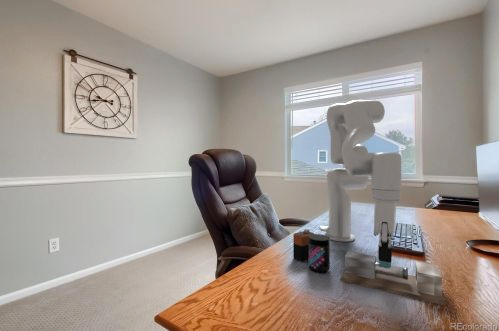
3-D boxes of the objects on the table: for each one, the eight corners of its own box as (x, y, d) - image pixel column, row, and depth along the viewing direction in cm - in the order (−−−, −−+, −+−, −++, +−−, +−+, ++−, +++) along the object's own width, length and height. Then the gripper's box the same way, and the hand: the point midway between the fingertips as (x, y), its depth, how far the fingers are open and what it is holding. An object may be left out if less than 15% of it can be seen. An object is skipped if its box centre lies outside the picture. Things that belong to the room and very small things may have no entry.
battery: (314, 258, 87) (314, 230, 87) (302, 263, 83) (302, 233, 83) (305, 254, 91) (305, 227, 91) (292, 259, 87) (292, 231, 87)
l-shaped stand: (347, 268, 74) (347, 236, 74) (348, 265, 77) (349, 233, 77) (407, 281, 66) (408, 245, 66) (407, 277, 69) (407, 241, 69)
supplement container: (304, 265, 81) (304, 234, 81) (323, 264, 82) (323, 233, 82) (313, 275, 74) (313, 241, 74) (333, 273, 76) (334, 239, 75)
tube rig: (340, 280, 71) (340, 259, 71) (347, 265, 81) (348, 247, 81) (445, 305, 59) (445, 280, 59) (438, 284, 69) (438, 263, 69)
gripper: (373, 191, 79) (373, 248, 79) (368, 197, 65) (367, 266, 65) (400, 193, 75) (400, 252, 75) (401, 200, 61) (400, 273, 61)
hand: (385, 258), depth 70 cm, fingers closed on l-shaped stand, 3 cm apart
